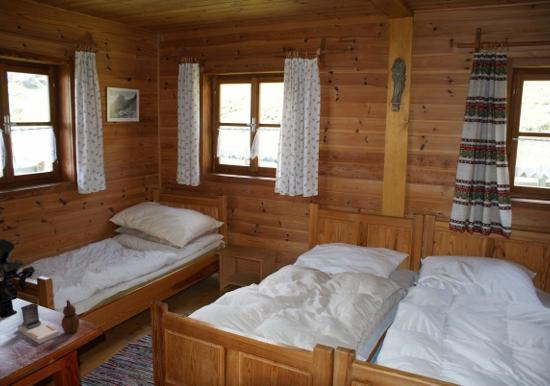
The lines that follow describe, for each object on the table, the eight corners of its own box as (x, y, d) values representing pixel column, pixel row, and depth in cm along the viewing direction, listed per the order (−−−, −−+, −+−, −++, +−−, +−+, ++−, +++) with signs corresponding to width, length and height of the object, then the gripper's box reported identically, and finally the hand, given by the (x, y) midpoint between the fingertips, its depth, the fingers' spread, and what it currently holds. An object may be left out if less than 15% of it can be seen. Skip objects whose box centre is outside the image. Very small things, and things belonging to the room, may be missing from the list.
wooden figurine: (72, 336, 190) (69, 302, 187) (60, 334, 192) (56, 300, 188) (82, 328, 197) (79, 295, 194) (70, 326, 198) (66, 294, 195)
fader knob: (21, 324, 195) (19, 306, 194) (34, 319, 200) (32, 302, 198) (28, 328, 192) (26, 310, 190) (41, 323, 196) (39, 305, 194)
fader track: (18, 330, 195) (17, 325, 195) (37, 322, 202) (36, 318, 201) (39, 343, 185) (38, 338, 184) (58, 335, 191) (58, 330, 190)
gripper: (-16, 260, 191) (-1, 292, 187) (30, 248, 205) (45, 277, 201) (-21, 274, 197) (-7, 305, 193) (24, 261, 212) (38, 290, 207)
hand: (18, 294), depth 198 cm, fingers open, 5 cm apart
